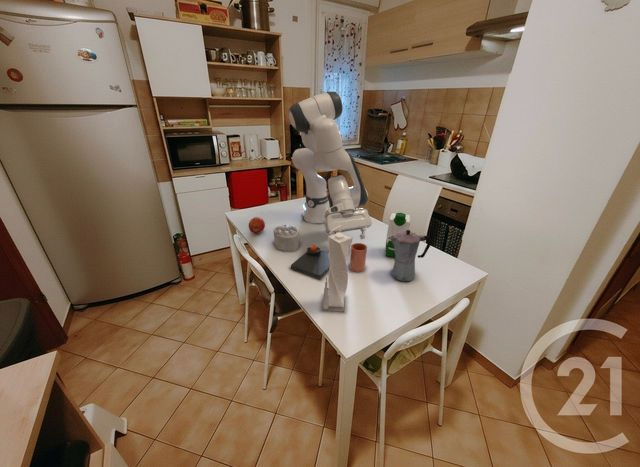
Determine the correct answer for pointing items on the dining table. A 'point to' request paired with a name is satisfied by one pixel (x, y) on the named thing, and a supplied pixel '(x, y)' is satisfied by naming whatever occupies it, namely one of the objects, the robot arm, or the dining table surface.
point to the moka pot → (407, 254)
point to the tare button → (313, 248)
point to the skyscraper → (337, 272)
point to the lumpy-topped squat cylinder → (286, 237)
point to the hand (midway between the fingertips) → (352, 240)
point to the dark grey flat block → (313, 263)
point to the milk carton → (396, 230)
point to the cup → (358, 257)
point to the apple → (256, 225)
